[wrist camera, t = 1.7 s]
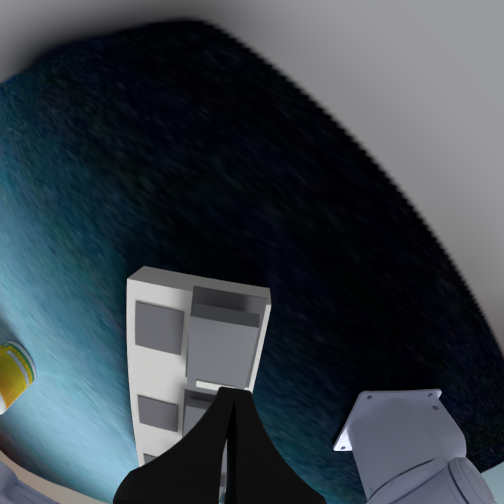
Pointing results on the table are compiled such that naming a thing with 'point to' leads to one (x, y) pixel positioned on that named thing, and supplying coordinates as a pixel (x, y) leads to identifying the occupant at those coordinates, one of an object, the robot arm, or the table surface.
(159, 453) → the power strip
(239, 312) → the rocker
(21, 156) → the table surface
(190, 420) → the rocker
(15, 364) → the supplement bottle
